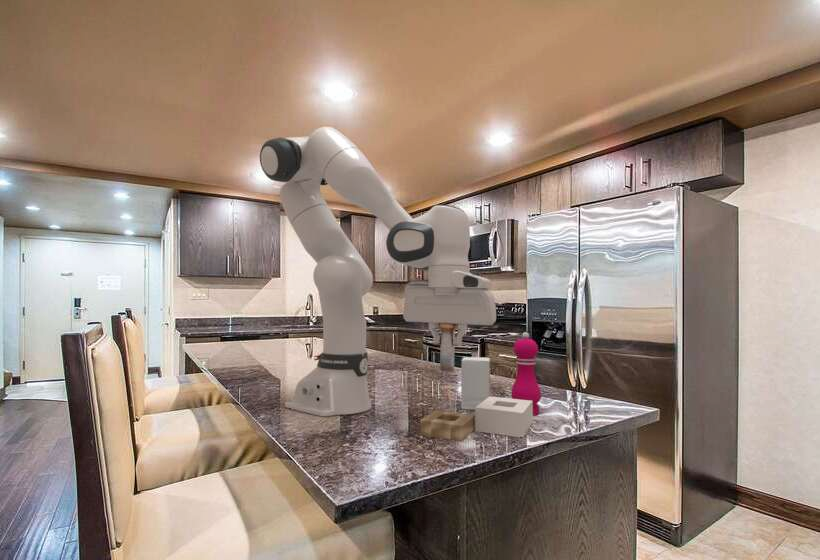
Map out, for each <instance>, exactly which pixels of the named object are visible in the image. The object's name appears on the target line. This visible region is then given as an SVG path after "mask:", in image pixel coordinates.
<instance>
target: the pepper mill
mask: <svg viewBox="0 0 820 560" xmlns="http://www.w3.org/2000/svg"><path fill="white" fill-rule="evenodd" d="M521 337H522V338H519V339H517V340H516V341H515V342H514V344H513V352H514V354H515V356H516V357H515V364H517V365H516V366H517V371H516V372H517V373H516V374H517V375H516V377H515V380H514V383H513V385H512V388H511V393H510V395H511V399H520V400H530V401H533V416H537V415H539V414H540V405H538V403H539V402H540V400H541V398H542V393H541V389H540V386H539V384H538V381H537V378H536V376H535V374H536V373H535V365H536V364H537V362H536V361H537V358H536V355H538V352H539V346H538V344H537V342H536V341H535V340H534V339H530V333H528V332H526V331H525V332H523V333H522V335H521Z"/></svg>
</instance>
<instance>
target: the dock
mask: <svg viewBox="0 0 820 560" xmlns="http://www.w3.org/2000/svg"><path fill="white" fill-rule="evenodd" d="M474 415H475V430H474V431H475V432H478V433H484V432H485V434H492V435H498V434H499V435H500V436H505V435H506V436H508V437H514V438H520V437H522V438H521V439H524V437H525V436H526V434H527V433H528V431H529V429H530V428H531V427H532V425H533V421H534V420H533V419H534V417H533V416H534V415H533V401H530V400H520V399H513V398H509V397H507V398H506V397H499V396H491V395H490V396H489V397H488V398H487V399H486V400H484V401H483V402H482V403H480V404H479V405H478V406H477V407H475V410H474Z"/></svg>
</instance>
